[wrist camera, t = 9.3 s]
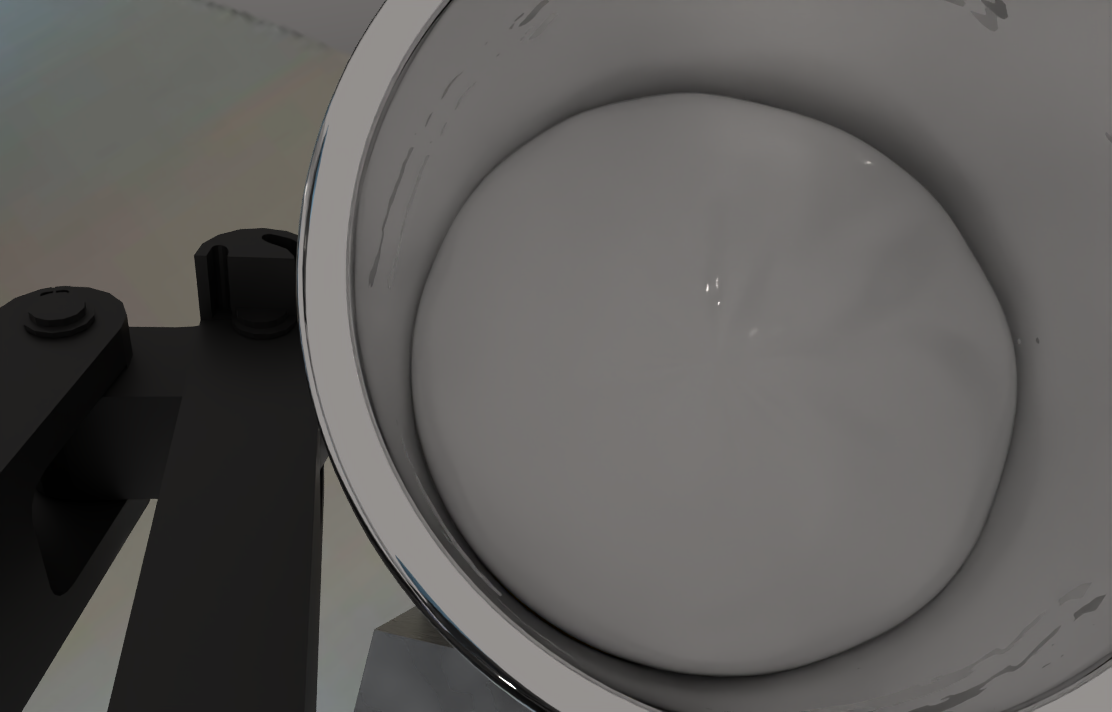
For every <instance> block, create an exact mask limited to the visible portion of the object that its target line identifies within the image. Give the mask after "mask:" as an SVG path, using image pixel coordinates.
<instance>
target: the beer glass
mask: <svg viewBox="0 0 1112 712" xmlns="http://www.w3.org/2000/svg"><path fill="white" fill-rule="evenodd" d="M296 301H297V319H298V328H299V336H300V345H301V351H302V358H303V364H304V370H305V375H306V379H307V384H308V388H309V393H310V397H311V401H312V405H313V408H314V412H315V416H316V420H317V423H318V426H319V429H320V432H321V435H322V438H323V441H324V444H325V447H326V450H327V452H328V455H329V458H330V460H331V463H332V466H333V468H334V471H335V473H336V475H337V477H338V480H339V482H340V484H341V486H342V489H343V491H344V493H345V495H346V497H347V499H348V501H349V503H350V505H351V507H352V509H353V511H354V513H355V515H356V517H357V519H358V521H359V523H360V524H361V526H362V528H363V530H364V531H365V533H366V535H367V537H368V539H369V540H370V542H371V544H372V545H373V547H374V548H375V550H376V551H377V553H378V555H379V556H380V558H381V559H382V561H383V562H384V564H385V565H386V567H387V568H388V570H389V571H390V572H391V574H392V575H393V577H394V578H395V579H396V581H397V582H398V584H399V585H400V586H401V587H402V589H403V590H404V591H405V593H406V594H407V595H408V596H409V598H410V599H411V600H412V602H413V603H414V604H415V605H416V607H417V608H418V609H419V610H420V611H421V612H422V614H423V615H424V616H425V617H426V618H427V619H428V620H429V622H430V623H431V624H432V625H433V626H434V627H435V628H436V629H437V630H438V631H439V633H440V634H441V635H442V636H443V637H444V638H445V639H446V640H447V641H448V642H449V643H450V644H451V645H452V646H453V647H454V648H455V649H456V650H457V651H458V652H459V653H460V654H461V655H462V656H463V657H464V658H466V659H467V660H468V661H469V662H470V663H471V664H472V665H473V666H474V667H475V668H476V669H478V670H479V671H480V672H481V673H482V674H484V675H485V676H486V677H487V678H488V679H489V680H491V681H492V682H493V683H494V684H495V685H497V686H498V687H499V688H501V689H502V690H503V691H504V692H506V693H507V694H508V695H510V696H511V697H512V698H513V699H515V700H516V701H517V702H519V703H520V704H522V705H523V706H525V707H526V708H528V709H529V710H531V711H532V712H1112V0H385V2H384V3H383V4H382V6H381V7H380V9H379V10H378V12H377V13H376V15H375V16H374V18H373V19H372V21H371V22H370V24H369V25H368V27H367V29H366V31H365V32H364V34H363V35H362V37H361V39H360V40H359V42H358V44H357V45H356V47H355V49H354V51H353V53H352V55H351V57H350V59H349V60H348V62H347V64H346V66H345V69H344V71H343V73H342V75H341V77H340V79H339V81H338V84H337V86H336V88H335V91H334V93H333V95H332V98H331V100H330V103H329V105H328V107H327V110H326V113H325V116H324V118H323V121H322V124H321V127H320V130H319V133H318V136H317V140H316V143H315V147H314V150H313V154H312V158H311V162H310V166H309V170H308V174H307V179H306V184H305V189H304V194H303V199H302V206H301V213H300V220H299V230H298V241H297V259H296Z"/></svg>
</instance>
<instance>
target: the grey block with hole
mask: <svg viewBox="0 0 1112 712" xmlns="http://www.w3.org/2000/svg"><path fill="white" fill-rule="evenodd" d="M354 712H532V711H531V710H529V709H528V708H526V707H525V706H523V705H522V704H520V703H519V702H517V701H516V700H515V699H513V698H512V697H511V696H510V695H508V694H507V693H506V692H504V691H503V690H502V689H501V688H499V687H498V686H497V685H495V684H494V683H493V682H492V681H491V680H489V679H488V678H487V677H486V676H485V675H484V674H482V673H481V672H480V671H479V670H478V669H476V668H475V667H474V666H473V665H472V664H471V663H470V662H469V661H468V660H467V659H466V658H464V657H463V656H462V655H461V654H460V653H459V652H458V651H457V650H456V649H455V648H454V647H453V646H452V645H451V644H450V643H449V642H448V641H447V640H446V639H445V638H444V637H443V636H442V635H441V634H440V633H439V631H438V630H437V629H436V628H435V627H434V626H433V625H432V624H431V623H430V622H429V620H428V619H427V618H426V617H425V616H424V615H423V614H422V612H421V611H420V610H419V609H418V608H417V607H416V606H415V607H413V608H412V609H410V610H408V611H406V612H404V613H403V614H401V615H399V616H397V617H396V618H394V619H392V620H390V621H389V622H387V623H385V624H383V625H382V626H380V627H378V628H376V629H374V633H373V637H372V641H371V645H370V649H369V653H368V657H367V661H366V665H365V669H364V673H363V677H362V681H361V685H360V689H359V693H358V697H357V701H356V705H355V709H354Z"/></svg>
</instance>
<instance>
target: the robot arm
mask: <svg viewBox="0 0 1112 712" xmlns="http://www.w3.org/2000/svg"><path fill="white" fill-rule="evenodd" d="M297 241H298V235H296V234H293V233H290V232H288V231H282V230H274V229H267V228H257V229H240V230H236V231H232V232H228V233H224V234H220V235H217V236H215V237H214V238H212V239H210V240H208V241H206V242H205V243H203V244H202V245H201V246H200V248H199V249H198V251H197V252H196V253H195V255H194V258H195V268H196V278H197V288H198V298H199V308H200V317H201V321H200V325H199V326H194V327H175V328H174V327H129V326H128V320H127V314H126V311H125V308H124V306H123V303H122V302H121V301H120V300H118V299H117V298H115V297H114V296H113V295H111V294H110V293H107V292H103V291H100V290H96V289H93V288H89V287H70V286H60V287H55V288H52V287H50V288H45V289H40V290H37V291H34V292H31V293H28V294H25V295H22V296H20V297H17V298H15V299H13V300H11V301H10V302H8V303H7V304H5V305H4V306H2V307H1V308H0V712H22V710H23V709H24V707H25V705H26V704H27V702H28V700H29V699H30V697H31V695H32V694H33V692H34V690H35V689H36V687H37V686H38V684H39V682H40V681H41V679H42V677H43V676H44V674H45V672H46V671H47V669H48V667H49V666H50V664H51V663H52V661H53V659H54V658H55V656H56V654H57V653H58V651H59V649H60V648H61V646H62V644H63V643H64V641H65V640H66V638H67V636H68V635H69V633H70V631H71V630H72V628H73V626H74V625H75V623H76V622H77V620H78V618H79V617H80V615H81V613H82V612H83V610H84V608H85V607H86V605H87V603H88V602H89V600H90V599H91V597H92V595H93V594H94V592H95V590H96V589H97V587H98V585H99V584H100V582H101V580H102V579H103V577H104V576H105V574H106V572H107V571H108V569H109V567H110V566H111V564H112V562H113V561H114V559H115V557H116V556H117V554H118V553H119V551H120V549H121V548H122V546H123V544H124V543H125V541H126V539H127V538H128V536H129V534H130V533H131V531H132V530H133V528H134V526H135V525H136V523H137V521H138V520H139V518H140V516H141V515H142V513H143V511H144V510H145V508H146V507H147V505H148V503H149V501H150V499H158V501H157V505H156V510H155V514H154V518H153V522H152V526H151V531H150V535H149V539H148V543H147V547H146V552H145V556H144V560H143V564H142V568H141V572H140V577H139V581H138V585H137V589H136V593H135V598H134V602H133V606H132V610H131V614H130V619H129V623H128V627H127V631H126V635H125V640H124V644H123V648H122V652H121V656H120V661H119V665H118V669H117V673H116V677H115V682H114V686H113V690H112V694H111V698H110V703H109V707H108V711H107V712H316V699H317V672H318V644H319V616H320V589H321V561H322V534H323V506H324V463H325V461H326V459H327V457H328V456H329V455H328V452H327V450H326V447H325V444H324V441H323V438H322V435H321V432H320V429H319V426H318V423H317V420H316V416H315V412H314V408H313V405H312V401H311V397H310V393H309V388H308V384H307V379H306V375H305V370H304V364H303V358H302V351H301V345H300V336H299V328H298V319H297V301H296V259H297Z"/></svg>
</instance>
